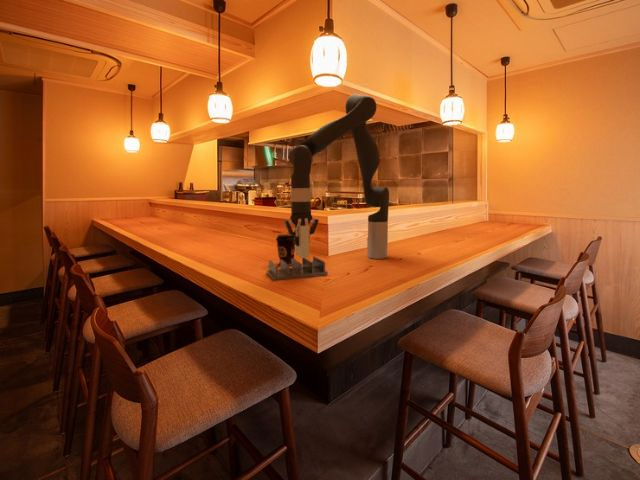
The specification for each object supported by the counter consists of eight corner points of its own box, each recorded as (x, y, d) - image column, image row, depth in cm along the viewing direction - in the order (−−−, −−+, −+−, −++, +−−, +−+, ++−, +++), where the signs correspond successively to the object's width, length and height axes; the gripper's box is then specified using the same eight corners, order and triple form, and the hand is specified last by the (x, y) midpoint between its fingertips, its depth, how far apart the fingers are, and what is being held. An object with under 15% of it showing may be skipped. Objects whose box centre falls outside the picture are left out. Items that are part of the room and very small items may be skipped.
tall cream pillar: (295, 254, 134) (294, 224, 132) (302, 253, 135) (302, 224, 133) (301, 258, 126) (301, 226, 125) (309, 257, 127) (308, 225, 126)
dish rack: (266, 273, 133) (266, 260, 132) (316, 268, 140) (316, 256, 139) (273, 280, 122) (273, 266, 121) (327, 274, 129) (327, 261, 128)
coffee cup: (283, 267, 143) (282, 236, 141) (273, 264, 149) (272, 235, 147) (300, 264, 148) (299, 234, 146) (289, 261, 155) (288, 233, 153)
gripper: (315, 199, 133) (315, 243, 136) (280, 200, 129) (281, 245, 131) (321, 200, 126) (322, 245, 129) (285, 201, 122) (286, 248, 124)
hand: (301, 245), depth 130 cm, fingers closed on tall cream pillar, 3 cm apart
